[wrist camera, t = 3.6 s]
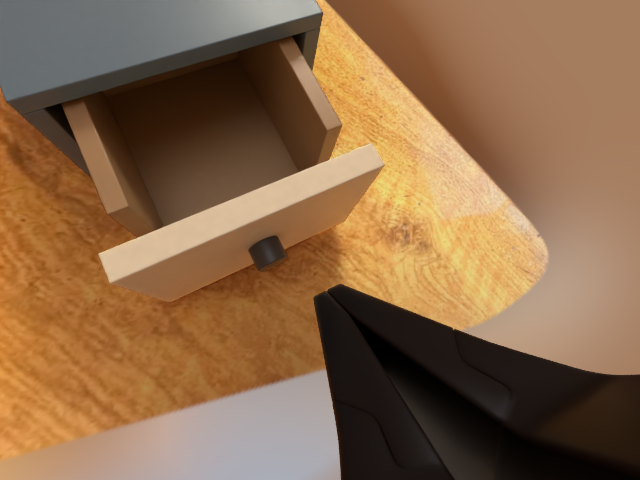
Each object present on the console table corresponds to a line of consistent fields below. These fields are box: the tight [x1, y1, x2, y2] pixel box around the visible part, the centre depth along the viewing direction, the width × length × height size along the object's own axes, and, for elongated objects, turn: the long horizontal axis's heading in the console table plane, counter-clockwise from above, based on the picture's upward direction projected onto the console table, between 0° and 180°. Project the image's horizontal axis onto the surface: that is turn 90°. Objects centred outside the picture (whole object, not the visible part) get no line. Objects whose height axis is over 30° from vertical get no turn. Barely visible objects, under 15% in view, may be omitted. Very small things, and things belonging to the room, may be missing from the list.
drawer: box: [61, 36, 385, 302], centre depth 18 cm, size 15×11×8 cm
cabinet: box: [0, 0, 323, 178], centre depth 19 cm, size 15×13×10 cm
